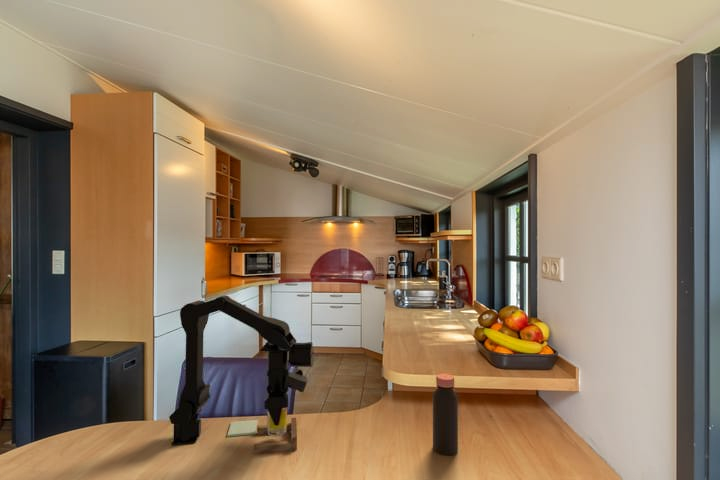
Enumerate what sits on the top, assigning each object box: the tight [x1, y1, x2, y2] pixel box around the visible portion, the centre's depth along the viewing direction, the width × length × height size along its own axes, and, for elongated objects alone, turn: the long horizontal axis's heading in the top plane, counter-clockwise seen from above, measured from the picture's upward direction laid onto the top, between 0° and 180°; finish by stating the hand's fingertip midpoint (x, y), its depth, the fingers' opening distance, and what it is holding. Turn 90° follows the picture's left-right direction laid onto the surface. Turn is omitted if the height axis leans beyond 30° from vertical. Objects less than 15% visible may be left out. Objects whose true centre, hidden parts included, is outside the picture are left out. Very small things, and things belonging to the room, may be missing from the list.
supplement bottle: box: [266, 407, 288, 438], centre depth 107 cm, size 6×6×10 cm
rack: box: [253, 417, 298, 455], centre depth 107 cm, size 12×12×4 cm
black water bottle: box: [432, 373, 459, 456], centre depth 103 cm, size 7×7×20 cm
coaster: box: [226, 419, 259, 438], centre depth 113 cm, size 8×8×1 cm
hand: (277, 420), depth 107 cm, fingers closed on supplement bottle, 5 cm apart
